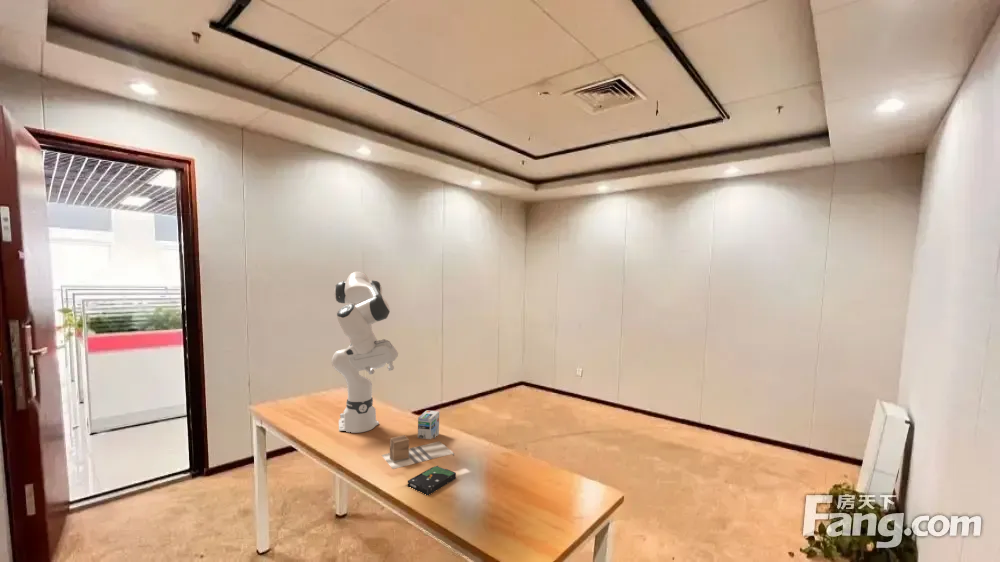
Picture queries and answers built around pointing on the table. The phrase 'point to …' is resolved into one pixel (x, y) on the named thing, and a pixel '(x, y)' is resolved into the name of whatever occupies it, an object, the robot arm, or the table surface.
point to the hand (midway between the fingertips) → (382, 371)
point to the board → (420, 454)
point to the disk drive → (432, 480)
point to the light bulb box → (428, 425)
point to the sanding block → (399, 448)
